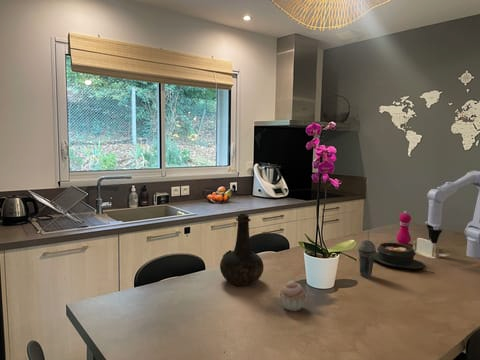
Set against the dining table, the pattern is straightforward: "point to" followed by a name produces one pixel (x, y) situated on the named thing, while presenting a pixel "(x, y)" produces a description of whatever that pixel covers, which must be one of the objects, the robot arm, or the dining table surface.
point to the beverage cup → (366, 257)
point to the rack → (436, 255)
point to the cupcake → (293, 296)
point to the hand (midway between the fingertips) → (432, 241)
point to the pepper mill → (404, 229)
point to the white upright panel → (425, 246)
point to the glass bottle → (242, 258)
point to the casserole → (397, 256)
